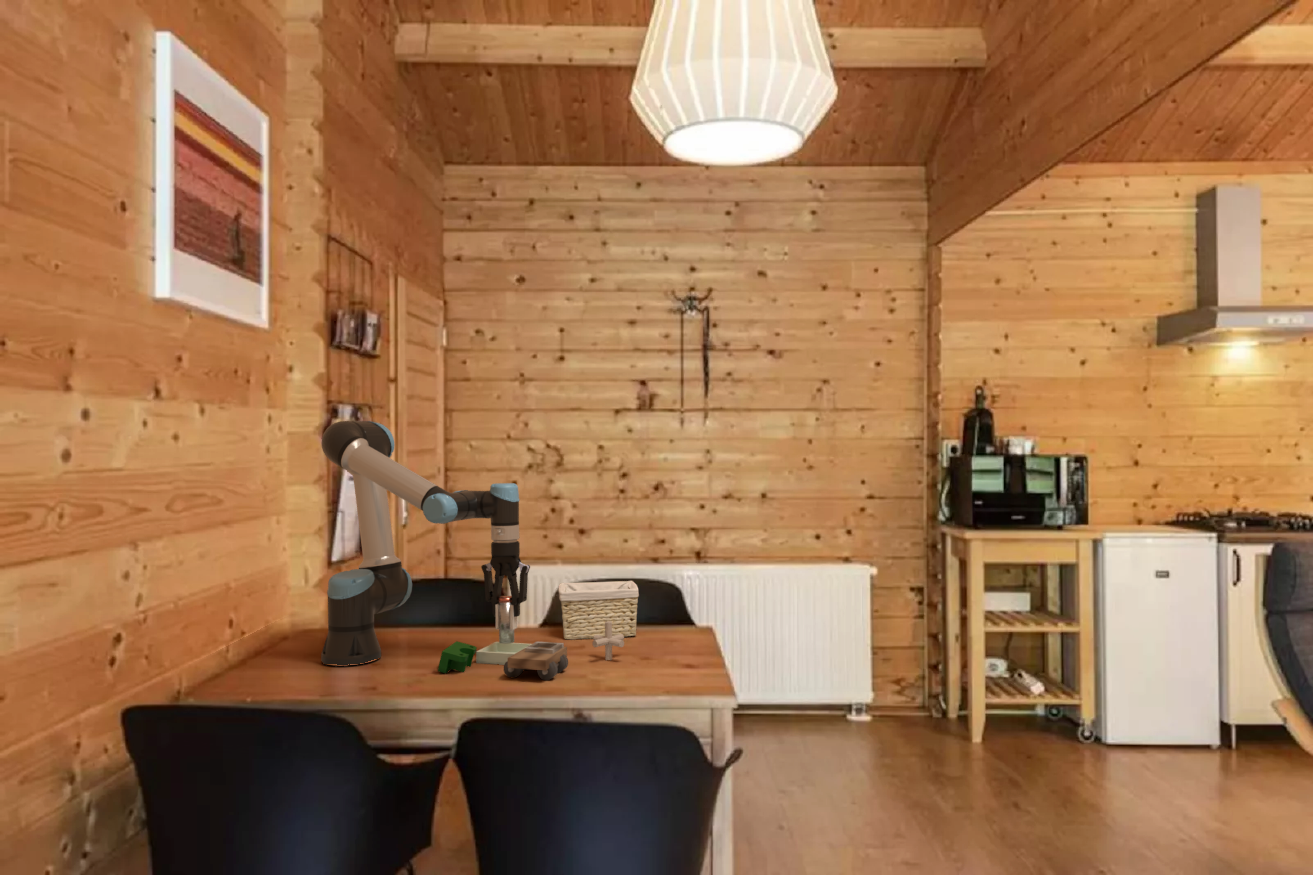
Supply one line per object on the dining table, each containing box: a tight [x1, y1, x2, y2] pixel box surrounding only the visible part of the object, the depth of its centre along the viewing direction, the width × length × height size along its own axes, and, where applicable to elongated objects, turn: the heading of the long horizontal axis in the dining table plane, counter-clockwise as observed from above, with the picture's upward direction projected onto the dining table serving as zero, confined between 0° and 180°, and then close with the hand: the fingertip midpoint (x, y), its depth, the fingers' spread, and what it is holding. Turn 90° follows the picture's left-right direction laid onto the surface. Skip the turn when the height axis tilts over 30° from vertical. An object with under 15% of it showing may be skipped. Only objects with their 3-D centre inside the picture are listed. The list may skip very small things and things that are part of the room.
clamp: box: [437, 640, 478, 674], centre depth 221 cm, size 12×6×9 cm, turn 169°
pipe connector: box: [592, 621, 625, 661], centre depth 229 cm, size 10×10×10 cm
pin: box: [498, 595, 515, 644], centre depth 231 cm, size 4×4×12 cm
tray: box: [475, 641, 533, 666], centre depth 231 cm, size 12×12×3 cm
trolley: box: [503, 641, 569, 681], centre depth 215 cm, size 13×14×6 cm
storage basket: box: [557, 580, 640, 641], centre depth 261 cm, size 24×16×15 cm
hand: (506, 628), depth 231 cm, fingers closed on pin, 3 cm apart
